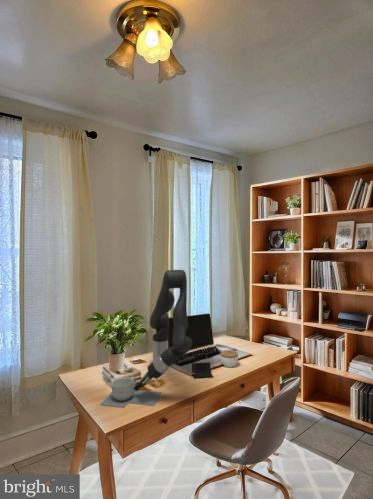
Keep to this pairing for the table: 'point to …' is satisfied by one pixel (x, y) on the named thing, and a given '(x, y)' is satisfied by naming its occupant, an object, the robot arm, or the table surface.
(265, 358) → the table surface
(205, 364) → the handheld gaming console
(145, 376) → the robot arm
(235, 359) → the lidded jar
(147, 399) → the t mat
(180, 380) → the table surface
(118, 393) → the teacup
